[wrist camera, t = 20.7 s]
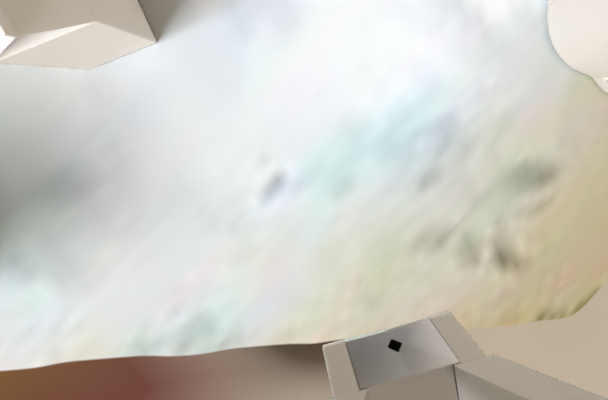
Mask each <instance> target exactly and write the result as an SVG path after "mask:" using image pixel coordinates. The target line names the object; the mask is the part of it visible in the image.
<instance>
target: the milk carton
mask: <svg viewBox="0 0 608 400" xmlns="http://www.w3.org/2000/svg"><path fill="white" fill-rule="evenodd" d="M155 43H156V39H155V37H154V35H153V32H152V30H151V28H150V26H149V24H148V22H147V19H146V17H145V15H144V13H143V11H142V9H141V6H140V4H139V2H138V0H0V64H10V65H25V66H41V67H57V68H72V69H92V68H94V67H97V66H99V65H102V64H105V63H107V62H110V61H112V60H115V59H117V58H120V57H122V56H125V55H127V54H130V53H132V52H135V51H137V50H140V49H142V48H145V47H147V46H150V45H152V44H155Z"/></svg>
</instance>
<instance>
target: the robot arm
mask: <svg viewBox="0 0 608 400" xmlns="http://www.w3.org/2000/svg"><path fill="white" fill-rule="evenodd" d="M547 21H548V29H549V34H550V38H551V41H552V43H553V46H554V48H555V50H556V51H557V53H558V54H559V56H560V57H561V58H562V59H563V61H564V62H565V63H567V64H568V65H569V66H570V67H572V68H573V69H575V70H577V71H579V72H582V73H584V74H587V75H589V76H590V77H592V78H593V79H594V80H595V82H596V83H597V84H598V85H599V87H600V88H601V89H602V90H603V91H604V92H606V93H608V0H549V1H548V10H547ZM344 340H345V341H344ZM344 340H340V341H336V342H333V343H329V344H326V345H323V353H324V357H325V361H326V366H327V371H328V376H329V380H330V385H331V389H332V394H333V398H331V399H328V400H608V399H607V398H604V397H602V396H599V395H597V394H594V393H592V392H589V391H586V390H584V389H581V388H579V387H576V386H573V385H571V384H569V383H566V382H563V381H561V380H558V379H556V378H553V377H551V376H548V375H546V374H543V373H541V372H538V371H535V370H533V369H530V368H528V367H525V366H523V365H520V364H518V363H515V362H512V361H510V360H507V359H505V358H502V357H499V356H497V355H495V354H491V355H488V356H487V355H486V354H485V353H484V352H483V351H482V349H481V348H480V347H479V346H478V345H477V343H476V342H475V341H474V340H473V338H472V337H471V336H470V335H469V334H468V332H467V331H466V330H465V329H464V327H463V326H462V325H461V324H460V323H459V321H458V320H457V319H456V318H455V317H454V315H453V314H452V313H451V312H449V311H446V312H442V313H439V314H436V315H432V316H429V317H427V318H425V319H422V320H418V321H414V322H411V323H407V324H404V325H400V326H396V327H393V328H389V329H384V330H380V331H376V332H372V333H368V334H364V335H360V336H356V337H352V338H348V339H344Z"/></svg>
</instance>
